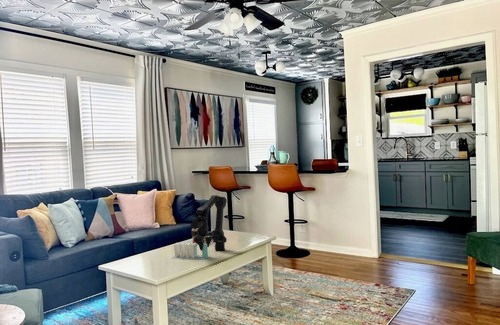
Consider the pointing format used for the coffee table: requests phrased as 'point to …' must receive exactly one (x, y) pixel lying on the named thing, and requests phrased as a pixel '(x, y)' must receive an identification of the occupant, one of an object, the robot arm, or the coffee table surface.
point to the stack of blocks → (195, 236)
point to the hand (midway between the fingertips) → (204, 248)
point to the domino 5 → (204, 251)
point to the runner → (191, 257)
